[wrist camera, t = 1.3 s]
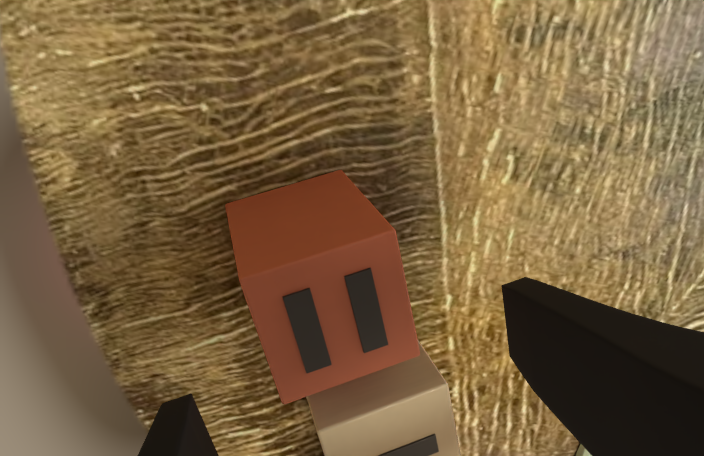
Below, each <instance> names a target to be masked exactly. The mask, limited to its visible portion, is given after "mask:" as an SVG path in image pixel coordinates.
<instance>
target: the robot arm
mask: <svg viewBox="0 0 704 456" xmlns="http://www.w3.org/2000/svg"><path fill="white" fill-rule="evenodd" d="M502 293H503V301H504V310H505V319H506V328H507V336H508V345H509V354H510V357H511V359H512V360H513V362H514V363H515V365H516V366H517V368H518V369H519V371H520V372H521V374H522V375H523V377H524V378H525V379H526V381H527V382H528V384H529V385H530V386H531V388H532V389H533V391H534V392H535V393H536V394H537V395H538V396H539V398H540V399H541V400H542V401H543V402H544V403H545V404H546V405H547V407H548V408H549V409H550V410H551V411H552V412H553V413H554V414H555V416H556V417H557V418H558V419H559V420H560V421H561V422H562V423H563V424H564V426H565V427H566V428H567V429H568V430H569V431H570V432H571V433H572V434H573V435H574V437H575V438H576V439H577V440H578V441H579V442H580V443H581V444H582V445H583V446H584V448H585V449H586V450H587V451H588V452H589V453H590V454H591V455H592V456H704V332H700V331H695V330H691V329H686V328H682V327H678V326H674V325H670V324H666V323H662V322H659V321H655V320H652V319H649V318H645V317H642V316H638V315H635V314H632V313H628V312H625V311H622V310H619V309H616V308H613V307H610V306H607V305H604V304H601V303H598V302H595V301H593V300H590V299H587V298H584V297H581V296H579V295H576V294H573V293H570V292H568V291H565V290H562V289H559V288H557V287H554V286H551V285H548V284H546V283H543V282H540V281H537V280H534V279H530V278H527V277H524V278H522V279H519V280H516V281H513V282H510V283H507V284H504V285H502ZM138 456H218V454H217V451H216V449H215V447H214V444H213V442H212V440H211V438H210V435H209V433H208V431H207V428H206V426H205V424H204V422H203V419H202V417H201V415H200V412H199V410H198V408H197V406H196V403H195V401H194V399H193V396H192V394H188V395H185V396H183V397H180V398H177V399H174V400H171V401H168V402H165V403H162V405H161V407H160V409H159V410H158V413H157V415H156V417H155V419H154V421H153V424H152V426H151V428H150V430H149V433H148V435H147V437H146V439H145V441H144V443H143V446H142V448H141V450H140V452H139V454H138Z"/></svg>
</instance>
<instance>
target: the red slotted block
mask: <svg viewBox="0 0 704 456" xmlns="http://www.w3.org/2000/svg"><path fill="white" fill-rule="evenodd" d="M225 208H226V213H227V218H228V224H229V229H230V234H231V239H232V245H233V250H234V255H235V261H236V266H237V271H238V277H239V282H240V284H241V287H242V290H243V293H244V296H245V299H246V302H247V304H248V307H249V310H250V313H251V316H252V319H253V322H254V324H255V327H256V330H257V333H258V336H259V339H260V342H261V345H262V347H263V350H264V353H265V356H266V359H267V362H268V365H269V367H270V370H271V373H272V376H273V379H274V382H275V385H276V387H277V390H278V393H279V396H280V399H281V402H282V403H283V404H287V403H290V402H293V401H296V400H299V399H301V398H304V397H307V396H310V395H312V394H315V393H318V392H321V391H323V390H326V389H329V388H332V387H335V386H337V385H340V384H343V383H346V382H348V381H351V380H354V379H357V378H359V377H362V376H365V375H368V374H371V373H373V372H376V371H379V370H382V369H384V368H387V367H390V366H393V365H395V364H398V363H401V362H404V361H406V360H409V359H412V358H415V357H418V356H419V355H420V349H419V344H418V339H417V334H416V329H415V324H414V319H413V314H412V309H411V304H410V299H409V294H408V289H407V284H406V279H405V274H404V269H403V264H402V259H401V254H400V249H399V244H398V239H397V234H396V230H395V229H394V228H393V227H392V226H391V225H390V224H389V222H388V221H387V220H386V219H385V218H384V217H383V216H382V215H381V213H380V212H379V211H378V210H377V209H376V208H375V207H374V206H373V205H372V203H371V202H370V201H369V200H368V199H367V198H366V197H365V196H364V195H363V193H362V192H361V191H360V190H359V189H358V188H357V187H356V186H355V185H354V183H353V182H352V181H351V180H350V179H349V178H348V177H347V176H346V175H345V173H344V172H343V171H342V170H337V171H334V172H331V173H327V174H324V175H321V176H317V177H314V178H311V179H307V180H304V181H301V182H297V183H294V184H291V185H287V186H284V187H280V188H277V189H274V190H270V191H267V192H264V193H260V194H257V195H254V196H250V197H247V198H244V199H240V200H237V201H234V202H230V203H227V204H226V205H225Z"/></svg>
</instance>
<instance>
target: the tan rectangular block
mask: <svg viewBox="0 0 704 456" xmlns="http://www.w3.org/2000/svg"><path fill="white" fill-rule="evenodd" d="M418 344H419V349H420V355H419V356H418V357H415V358H412V359H409V360H406V361H404V362H401V363H398V364H395V365H393V366H390V367H387V368H384V369H382V370H379V371H376V372H373V373H371V374H368V375H365V376H362V377H359V378H357V379H354V380H351V381H348V382H346V383H343V384H340V385H337V386H335V387H332V388H329V389H326V390H323V391H321V392H318V393H315V394H312V395H310V396H307V397H306V398H307V401H308V405H309V408H310V411H311V415H312V418H313V421H314V425H315V428H316V431H317V434H318V437H319V441H320V444H321V447H322V450H323V453H324V456H461V454H460V449H459V443H458V437H457V432H456V426H455V421H454V415H453V409H452V404H451V398H450V393H449V387H448V383H447V382H446V380H445V379H444V377H443V376H442V374H441V373H440V371H439V370H438V368H437V367H436V365H435V364H434V362H433V361H432V360H431V358H430V357H429V355H428V354H427V352H426V351H425V349H424V348H423V346H422V345H421V343H420V342H419V340H418Z"/></svg>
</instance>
